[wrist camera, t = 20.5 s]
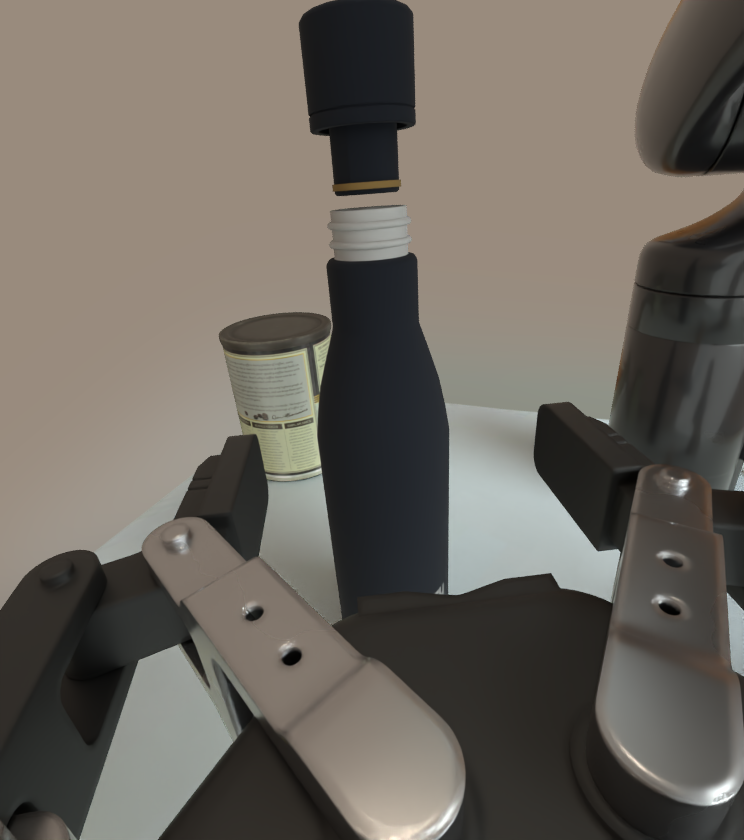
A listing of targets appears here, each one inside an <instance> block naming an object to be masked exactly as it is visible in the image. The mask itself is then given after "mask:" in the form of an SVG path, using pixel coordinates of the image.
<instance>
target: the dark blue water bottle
mask: <svg viewBox="0 0 744 840" xmlns="http://www.w3.org/2000/svg"><path fill="white" fill-rule="evenodd" d="M413 29H414V28H413V13H412V11H411V10H410V8H409V7H408V6H407V5H406V4H403V3H401V2H399V1H396V0H335V1H330V2H326V3H324V4H321V5H318V6H316V7H313V8H312V9H310V10H309V11H307V12H306V13H304V14H303V16H302V18H301V20H300V22H299V31H300V40H301V50H302V58H303V68H304V77H305V86H306V95H307V104H308V114H309V116H310V118H309V123H310V132H311V133H312V134H315V135H324V136H330V144H331V155H332V165H333V177H334V185H332V186H333V191H335V194H336V195H337V196H348V195H362V194H375V193H386V192H397V191H398V190H399V186H401V180H399V172H398V145H397V130H402V129H406V128H409V127H412V126H414V125H415V123H416V120H415V109H414V108H415V74H414V34H413V33H414V31H413ZM330 215H331V222H330V223H329V224H328V229H330V230H332V235H333V240H332V241H331V242H330V244H329V246H330V247H331V248H333V249H334V255H335V257H334V258H332V259H330V260H329V261H328V263H327V276H328V285H329V294H330V304H331V313H332V322H333V331H332V335H331V339H330V344H329V348H328V352H327V357H326V362H325V366H324V371H323V376H322V381H321V385H320V396H319V407H318V425H317V440H318V447H319V454H320V461H321V469H322V476H323V483H324V490H325V497H326V505H327V512H328V519H329V526H330V533H331V541H332V548H333V555H334V562H335V569H336V577H337V584H338V591H339V598H340V605H341V613H342V620H343V619H345V618H347V617H349V616H351V615H354V614H357V613H358V604H357V597H363V596H371V595H379V594H387V593H395V592H403V591H408V592H421V593H433V594H445V595H448V515H449V425H448V419H447V414H446V408H445V402H444V398H443V394H442V389H441V385H440V380H439V377H438V374H437V371H436V368H435V366H434V362H433V360H432V357H431V354H430V351H429V348H428V345H427V343H426V340H425V337H424V335H423V332H422V329H421V327H420V324H419V316H418V315H419V313H418V270H417V258H416V256H415V255H414V254H413V253H410V252H408V243H410V242H411V240H412V239H411V237H410V235H407V224H409V223H410V222H411V219H410V217H408V216H407V210H406V205H390V206H374V207H373V206H372V207H359V208H348V209H339V210H332V211H330Z"/></svg>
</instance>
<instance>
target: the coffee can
mask: <svg viewBox="0 0 744 840" xmlns="http://www.w3.org/2000/svg"><path fill="white" fill-rule="evenodd" d="M330 329H331V321H330V320H329V318H327V317H326V316H323V315H320V314H314V313H302V312H293V313H278V314H271V315H264V316H259V317H254V318H249V319H246V320H243V321H240V322H237V323H234V324H232V325H230V326H228V327H226V328H224V329H223V330H222V331H221V332H220V333H219V339H220V342H221V344H222V345H223V350H224V354H225V358H226V363H227V368H228V372H229V376H230V380H231V385H232V389H233V393H234V398H235V402H236V407H237V411H238V415H239V419H240V423H241V428H242V432H243V435H249V434H256V435H257V437H258V440H259V445H260V449H261V454H262V459H263V464H264V469H265V474H266V478H267V479H268V480H274V481H296V480H302V479H307V478H310V477H313V476H316V475H319V474H322V469H321V461H320V454H319V447H318V440H317V425H318V407H319V396H320V385H321V381H322V376H323V371H324V366H325V362H326V357H327V352H328V348H329V344H330V339H331V334H330Z"/></svg>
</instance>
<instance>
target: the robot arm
mask: <svg viewBox="0 0 744 840" xmlns="http://www.w3.org/2000/svg"><path fill="white" fill-rule="evenodd" d="M635 140H636V147H637V150H638V153H639V156H640V158H641V160H642V161H643V163H644V164H645V166H647V167H648V168H649V169H651V170H652V171H653V172H655V173H659V174H664V175H668V176H675V177H691V176H708V175H722V174H736V173H744V0H681V1H680V3H679V5H678V7H677V9H676V11H675V12H674V15H673V16H672V18H671V20H670V22H669V23H668V25H667V27H666V30H665V31H664V34H663V35H662V38H661V40H660V42H659V44H658V46H657V48H656V50H655V53H654V56H653V58H652V60H651V63H650V65H649V68H648V71H647V74H646V77H645V80H644V83H643V86H642V89H641V93H640V97H639V101H638V105H637V111H636V118H635ZM534 462H535V466H536V469H537V471H538V473H539V475H540V476H541V477H542V479H543V480H544V481H545V483H546V484H547V485H548V487H549V488H550V489H551V491H552V492H553V493H554V495H555V496H556V497H557V498H558V500H559V501H560V502H561V504H562V505H563V506H564V508H565V509H566V510H567V512H568V513H569V514H570V516H571V517H572V518H573V520H574V521H575V522H576V523H577V525H578V526H579V527H580V529H581V530H582V531H583V533H584V534H585V535H586V537H587V538H588V539H589V541H590V542H591V543H592V545H593V546H594V547H595V548H596V550H597V551H605V550H613V549H619V551H620V552H621V553H620V558H619V562H618V567H617V572H616V577H615V582H614V586H613V591H612V596H611V601H610V602H608V601H606V600H604V599H602V598H599V597H596V596H593V595H591V594H587V593H583V592H579V591H575V590H569V589H562V588H560V587H559V586H558V584H557V582H556V581H555V579H554V577H553V576H552V574H551V573H549V574H541V575H533V576H525V577H517V578H509V579H503V580H500V581H497V582H495V583H492V584H489V585H486V586H484V587H481V588H478V589H475V590H473V591H470V592H467V593H464V594H461V595H445V594H433V593H421V592H408V591H403V592H395V593H387V594H379V595H371V596H363V597H357V604H358V613H357V614H354V615H351V616H349V617H347V618H345V619H343V620H341V621H339V622H337V623H336V624H334V625H332V626H331V625H330V624H329V623H328V622H327V621H326V620H325V619H324V618H322V617H321V616H320V615H319V614H318V613H317V612H316V611H315V610H314V609H313V608H312V607H311V606H310V605H309V604H308V603H307V602H306V601H305V600H304V599H303V598H302V597H301V596H300V595H299V594H298V593H297V592H296V591H295V590H293V589H292V588H291V587H290V586H289V585H288V584H287V583H286V582H285V581H284V580H283V579H282V578H281V577H280V576H279V575H278V574H277V573H276V572H275V571H274V570H273V569H272V568H271V567H270V566H269V565H268V564H267V563H266V562H264V561H263V560H262V559H261V558H260V557H258V556H259V550H260V545H261V539H262V534H263V528H264V523H265V517H266V512H267V506H268V484H267V478H266V474H265V469H264V464H263V459H262V454H261V449H260V445H259V440H258V437H257V435H256V434H249V435H239V436H230V437H228V438H227V440H226V443H225V445H224V448H223V450H222V453H221V455H215V456H210V457H209V458H207V459H206V460H205V461H204V462H203V463H202V464H201V465H200V466H198V468H197V470H196V472H195V474H194V476H193V481H191V483H190V485H189V487H188V491H187V492H186V494H185V496H184V498H183V500H182V503H181V505H180V507H179V509H178V511H177V513H176V516H175V518H174V520H172V521H170V522H167V523H165V524H163V525H161V526H159V527H158V528H156V529H155V530H154V531H153V532H151V533H150V534H149V535H148V536H147V538H146V539H145V540H144V542H143V545H142V551H141V552H139V553H136V554H134V555H131V556H128V557H125V558H122V559H119V560H116V561H112V562H109V563H106V564H103V565H101V564H100V561H99V559H98V557H97V555H96V554H95V553H93V552H90V551H87V550H75V551H70V552H65V553H62V554H59V555H56V556H54V557H52V558H50V559H48V560H46V561H44V562H42V563H41V564H39V565H38V566H36V567H35V568H34V569H32V570H31V571H30V572H29V573H28V574H27V575H25V577H24V578H23V579H22V580H21V582H20V583H19V584H18V586H17V587H16V589H15V590H14V591H13V593H12V594H11V596H10V597H9V599H8V600H7V601H6V603H5V604H4V606H3V607H2V609H1V610H0V840H79V839H80V836H81V833H82V829H83V826H84V823H85V820H86V817H87V814H88V811H89V808H90V805H91V802H92V799H93V796H94V793H95V790H96V787H97V784H98V781H99V778H100V775H101V772H102V769H103V766H104V763H105V760H106V757H107V754H108V751H109V748H110V745H111V742H112V739H113V736H114V733H115V730H116V727H117V724H118V721H119V718H120V715H121V712H122V709H123V706H124V703H125V700H126V697H127V694H128V691H129V688H130V685H131V682H132V679H133V676H134V672H135V669H136V666H137V663H138V660H140V659H142V658H145V657H147V656H150V655H152V654H155V653H157V652H160V651H162V650H165V649H167V648H170V647H172V646H175V645H177V644H178V646H179V648H180V650H181V651H182V653H183V654H184V656H185V658H186V659H187V661H188V662H189V664H190V666H191V667H192V669H193V670H194V672H195V674H196V675H197V677H198V678H199V680H200V682H201V683H202V685H203V687H204V688H205V690H206V691H207V693H208V695H209V696H210V698H211V699H212V701H213V703H214V704H215V706H216V708H217V710H218V712H219V714H220V716H221V718H222V720H223V723H224V725H225V727H226V729H227V731H228V733H229V734H230V736H231V738H232V740H233V744H232V745H231V746H230V747H229V749H228V750H227V751H226V753H225V754H224V755H223V756H222V758H221V759H220V760H219V762H218V763H217V764H216V765H215V767H214V768H213V769H212V771H211V772H210V773H209V774H208V776H207V777H206V778H205V780H204V781H203V782H202V783H201V785H200V786H199V787H198V789H197V790H196V791H195V792H194V794H193V795H192V796H191V798H190V799H189V800H188V801H187V803H186V804H185V805H184V807H183V808H182V809H181V810H180V812H179V813H178V814H177V816H176V817H175V818H174V819H173V821H172V822H171V823H170V825H169V826H168V827H167V828H166V830H165V831H164V832H163V834H162V835H161V836H160V837H159V839H158V840H744V677H743V676H742V675H740V674H738V673H736V672H734V671H733V670H732V666H731V656H730V640H729V623H728V607H727V593H728V594H729V595H730V596H731V597H732V598H733V599H734V600H735V601H736V603H737V604H738V605H739V606H740V607H741V608H742V609H743V610H744V491H734V489H735V486H736V483H737V480H738V477H739V474H740V471H741V468H742V465H743V462H744V190H743V191H742V193H741V194H740V195H739V196H738V197H737V198H736V199H735V200H734V201H733V202H731V203H730V204H729V205H727V206H726V207H724V208H723V209H721V210H720V211H718V212H716V213H714V214H713V215H711V216H709V217H707V218H705V219H703V220H701V221H699V222H697V223H694V224H692V225H689V226H687V227H684V228H681V229H678V230H676V231H672V232H670V233H667V234H664V235H661V236H659V237H656V238H654V239H652V240H651V241H649V242H648V243H647V244H646V245H645V246H644V247H643V249H642V251H641V253H640V256H639V260H638V265H637V270H636V276H635V283H634V287H633V292H632V298H631V304H630V310H629V314H628V321H627V326H626V332H625V338H624V343H623V349H622V354H621V360H620V365H619V371H618V376H617V382H616V388H615V393H614V399H613V404H612V410H611V415H610V420H609V426H608V425H607V424H605V423H603V422H601V421H599V420H596V419H594V418H592V417H587V416H585V415H584V414H583V413H582V412H581V411H580V410H579V409H577V408H576V407H575V406H574V405H573V404H572V403H570V402H562V403H553V404H543V405H541V406H540V408H539V410H538V416H537V426H536V435H535V445H534Z"/></svg>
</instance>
